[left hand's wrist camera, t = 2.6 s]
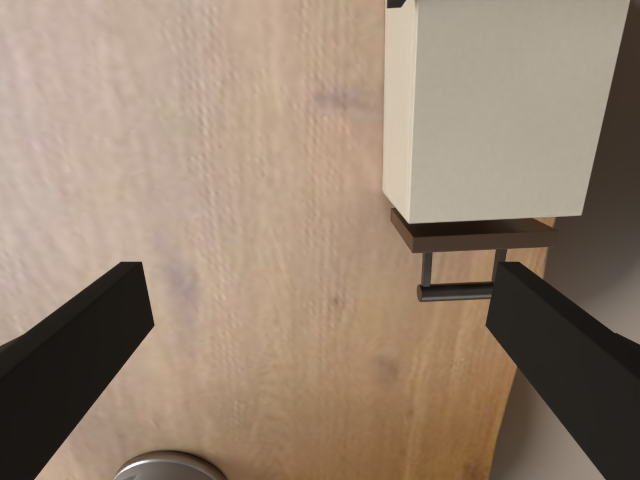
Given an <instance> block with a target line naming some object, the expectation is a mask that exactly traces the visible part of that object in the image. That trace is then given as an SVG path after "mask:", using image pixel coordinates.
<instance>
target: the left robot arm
mask: <svg viewBox="0 0 640 480" xmlns="http://www.w3.org/2000/svg"><path fill="white" fill-rule="evenodd" d="M153 327H154V320H153V315H152V310H151V305H150V300H149V295H148V290H147V285H146V280H145V275H144V270H143V265H142V262H120V263H119V264H117V265H116V266H115V267H113V268H112V269H111V270H109V271H108V272H107V273H105V274H104V275H103V276H101V277H100V278H99V279H97V280H96V281H95V282H93V283H92V284H91V285H89V286H88V287H87V288H85V289H84V290H83V291H81V292H80V293H79V294H77V295H76V296H75V297H73V298H72V299H71V300H69V301H68V302H66V303H65V304H64V305H62V306H61V307H60V308H58V309H57V310H56V311H54V312H53V313H52V314H50V315H49V316H48V317H46V318H45V319H44V320H42V321H41V322H40V323H38V324H37V325H36V326H34V327H33V328H32V329H30V330H29V331H28V332H26V333H25V334H24V335H22V336H20V337H18V338H16V339H14V340H12V341H10V342H8V343H6V344H4V345H2V346H0V480H34V479H35V478H36V477H37V475H38V474H39V473H40V472H41V470H42V469H43V468H44V466H45V465H46V464H47V463H48V461H49V460H50V459H51V457H52V456H53V455H54V454H55V452H56V451H57V450H58V448H59V447H60V446H61V445H62V443H63V442H64V441H65V440H66V438H67V437H68V436H69V434H70V433H71V432H72V431H73V429H74V428H75V427H76V425H77V424H78V423H79V422H80V420H81V419H82V418H83V416H84V415H85V414H86V413H87V411H88V410H89V409H90V407H91V406H92V405H93V404H94V402H95V401H96V400H97V398H98V397H99V396H100V395H101V393H102V392H103V391H104V390H105V388H106V387H107V386H108V384H109V383H110V382H111V381H112V379H113V378H114V377H115V375H116V374H117V373H118V372H119V370H120V369H121V368H122V366H123V365H124V364H125V363H126V361H127V360H128V359H129V357H130V356H131V355H132V354H133V352H134V351H135V350H136V348H137V347H138V346H139V345H140V343H141V342H142V341H143V340H144V338H145V337H146V336H147V334H148V333H149V332H150V331H151V329H152V328H153ZM486 327H487V328H488V329H489V331H490V332H491V333H492V334H493V336H494V337H495V338H496V340H497V341H498V342H499V343H500V345H501V346H502V347H503V348H504V350H505V351H506V352H507V354H508V355H509V356H510V357H511V359H512V360H513V361H514V363H515V364H516V365H517V366H518V368H519V369H520V370H521V372H522V373H523V374H524V375H525V377H526V378H527V379H528V381H529V382H530V383H531V384H532V386H533V387H534V388H535V389H536V391H537V392H538V393H539V395H540V396H541V397H542V398H543V400H544V401H545V402H546V404H547V405H548V406H549V407H550V409H551V410H552V411H553V413H554V414H555V415H556V416H557V418H558V419H559V420H560V422H561V423H562V424H563V425H564V427H565V428H566V429H567V431H568V432H569V433H570V434H571V436H572V437H573V438H574V440H575V441H576V442H577V443H578V445H579V446H580V447H581V448H582V450H583V451H584V452H585V454H586V455H587V456H588V457H589V459H590V460H591V461H592V463H593V464H594V465H595V466H596V468H597V469H598V470H599V471H600V473H601V474H602V475H603V477H604V478H605V479H606V480H640V345H639V344H637V343H635V342H633V341H631V340H629V339H627V338H625V337H623V336H621V335H619V334H617V333H614V332H612V331H611V330H610V329H608V328H607V327H606V326H604V325H603V324H602V323H600V322H599V321H598V320H596V319H595V318H594V317H592V316H591V315H589V314H588V313H587V312H586V311H584V310H583V309H581V308H580V307H579V306H578V305H576V304H575V303H573V302H572V301H571V300H569V299H568V298H567V297H565V296H564V295H563V294H561V293H560V292H559V291H557V290H556V289H555V288H553V287H552V286H551V285H549V284H548V283H547V282H545V281H544V280H543V279H541V278H540V277H539V276H537V275H536V274H535V273H533V272H532V271H531V270H529V269H528V268H527V267H525V266H524V265H523V264H521V263H520V262H498V265H497V270H496V275H495V280H494V285H493V290H492V295H491V300H490V305H489V310H488V315H487V320H486ZM113 480H226V479H225V477H224V476H223V475H222V474H221V473H220V472H219V471H218V470H217V469H216V468H215V467H213V466H212V465H210V464H209V463H207V462H205V461H203V460H201V459H199V458H197V457H194V456H191V455H188V454H183V453H178V452H169V451H160V452H151V453H146V454H142V455H139V456H137V457H134V458H132V459H131V460H129V461H127V462H126V463H125V464H124V465H123V466H122V467H121V468H120V469H119V470H118V472H117V474H116V475H115V477H114V479H113Z"/></svg>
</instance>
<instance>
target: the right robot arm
mask: <svg viewBox="0 0 640 480" xmlns="http://www.w3.org/2000/svg"><path fill="white" fill-rule="evenodd" d="M405 1H406V0H387V8H401V7H402V6H403V4H404V3H405Z"/></svg>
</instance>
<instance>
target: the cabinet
mask: <svg viewBox="0 0 640 480" xmlns="http://www.w3.org/2000/svg"><path fill="white" fill-rule="evenodd" d="M629 3H630V0H406V1H405V3H404V4H403V6H402V7H401V8H387V0H386V4H385V70H384V137H383V193H384V194H385V195H386V196H387V198H388V199H389V200H390V201H391V202H392V204H393V205H394V206H395V207H396V209H397V210H398V211H399V212H400V213H401V215H402V216H403V217H404V218H405V219H406V221H407V222H408V223H409V224H410V223H431V222H452V221H473V220H494V219H515V218H536V217H557V216H578V215H582V210H583V206H584V201H585V197H586V193H587V188H588V184H589V180H590V175H591V171H592V166H593V162H594V157H595V153H596V149H597V144H598V140H599V135H600V131H601V127H602V122H603V118H604V113H605V109H606V105H607V100H608V96H609V91H610V87H611V82H612V78H613V74H614V69H615V65H616V60H617V56H618V52H619V47H620V43H621V38H622V34H623V29H624V25H625V21H626V16H627V12H628V7H629Z"/></svg>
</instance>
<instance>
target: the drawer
mask: <svg viewBox="0 0 640 480" xmlns="http://www.w3.org/2000/svg"><path fill="white" fill-rule="evenodd" d="M391 222H392V223H393V225H394V226H395V228H396V229H397V231H398V232H399V234H400V235H401V237H402V238H403V240H404V241H405V243H406V244H407V246H408V247H409V249H410V250H411V252H412V253H423V262H422V278H421V284H422V285H418V286H417V297H418V300H419V302H431V301H454V300H476V299H491V295H492V290H493V285H494V280H495V275H496V270H497V265H498V262H505V259H506V253H507V249H513V248H534V247H554V246H555V244H556V239H557V234H558V230H556V229H554V228H552V227H550V226H548V225H546V224H544V223H541V222H539V221H537V220H535V219H533V218H515V219H494V220H473V221H452V222H431V223H410V224H409V223H408V222H407V221H406V219H405V218H404V217H403V216H402V215H401V213H400V212H399V211H398V210H397V209H396V208H391ZM491 249H496V253H495V260H494V267H493V274H492V281H489V282H467V283H444V284H430V280H431V266H432V252H448V251H470V250H491Z"/></svg>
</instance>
